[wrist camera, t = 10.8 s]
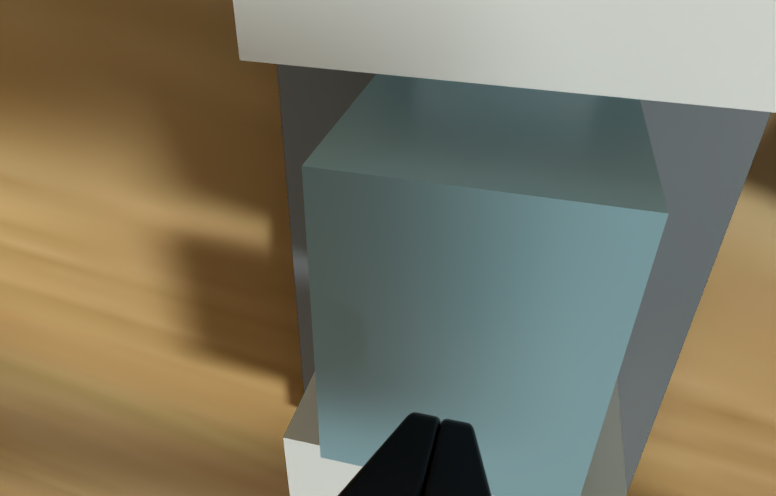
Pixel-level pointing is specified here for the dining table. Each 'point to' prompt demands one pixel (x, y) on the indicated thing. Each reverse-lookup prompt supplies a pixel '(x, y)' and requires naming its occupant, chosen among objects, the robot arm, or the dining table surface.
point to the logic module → (479, 269)
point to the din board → (680, 256)
